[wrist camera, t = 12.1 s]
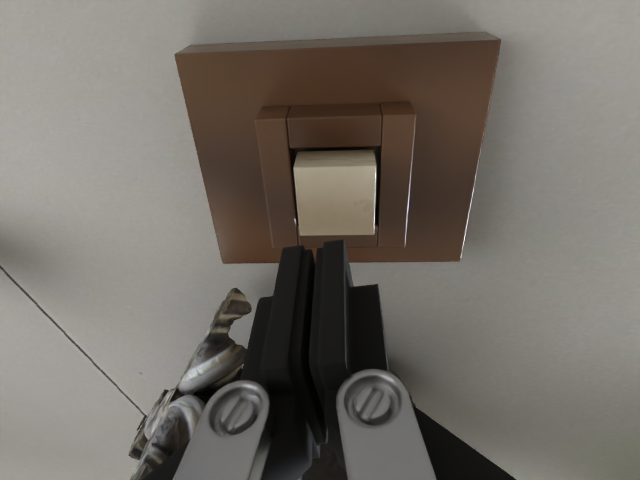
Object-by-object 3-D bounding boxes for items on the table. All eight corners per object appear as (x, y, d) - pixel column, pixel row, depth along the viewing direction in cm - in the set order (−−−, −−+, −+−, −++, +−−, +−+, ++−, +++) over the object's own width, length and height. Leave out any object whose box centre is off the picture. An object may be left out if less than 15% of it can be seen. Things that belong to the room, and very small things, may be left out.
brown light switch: (189, 45, 17) (157, 63, 14) (486, 31, 16) (517, 47, 13) (230, 242, 23) (214, 284, 20) (452, 240, 22) (468, 283, 19)
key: (297, 151, 16) (293, 167, 15) (373, 149, 16) (376, 165, 15) (302, 216, 18) (299, 236, 17) (372, 215, 18) (374, 235, 16)
